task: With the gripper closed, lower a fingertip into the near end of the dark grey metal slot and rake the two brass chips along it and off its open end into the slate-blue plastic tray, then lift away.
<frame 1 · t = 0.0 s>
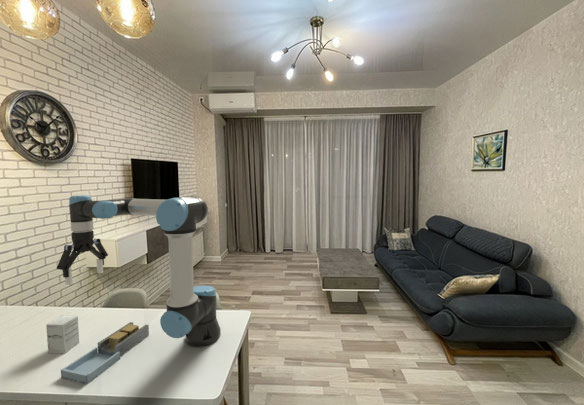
hand: (85, 278, 113), 28 cm above the table, fingers open, 13 cm apart
tray: (92, 367, 97), on the table
slot bed: (125, 344, 111), on the table
chip b: (118, 343, 108), point 2 cm above the table, touching slot bed
supplement box: (64, 348, 109), on the table
chip a: (130, 335, 114), point 2 cm above the table, touching slot bed
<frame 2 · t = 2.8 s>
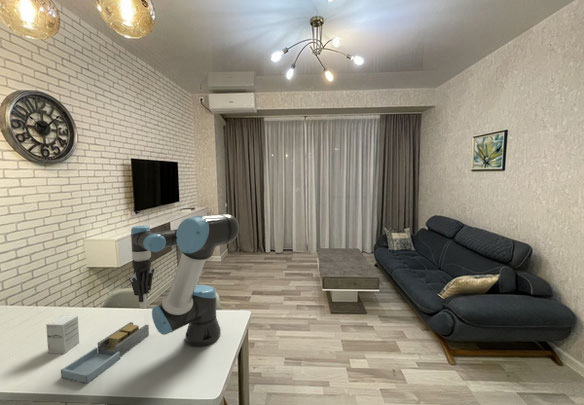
hand: (143, 307, 121), 11 cm above the table, fingers closed
nothing on the table moved.
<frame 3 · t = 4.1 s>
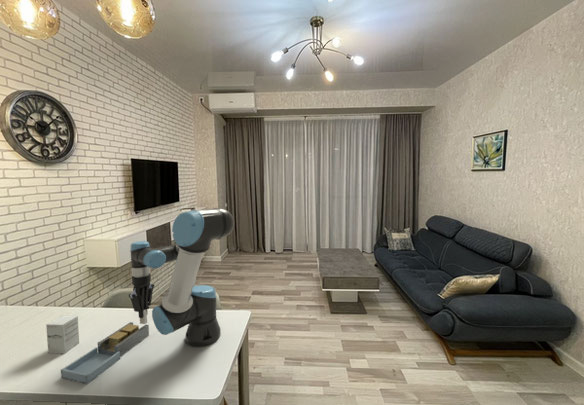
hand: (143, 322, 121), 4 cm above the table, fingers closed
nothing on the table moved.
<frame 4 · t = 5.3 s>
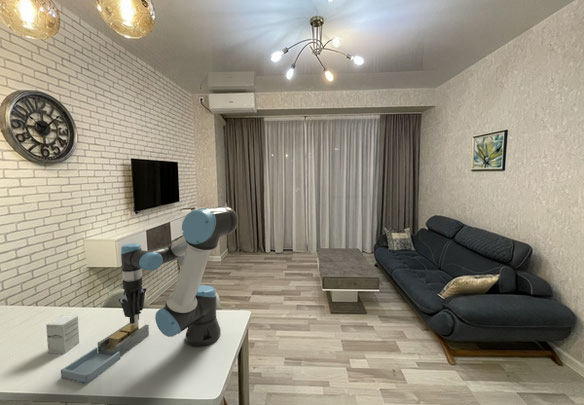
hand: (134, 328, 116), 4 cm above the table, fingers closed
chip a: (129, 335, 113), point 3 cm above the table, touching gripper, slot bed
everything else where it was.
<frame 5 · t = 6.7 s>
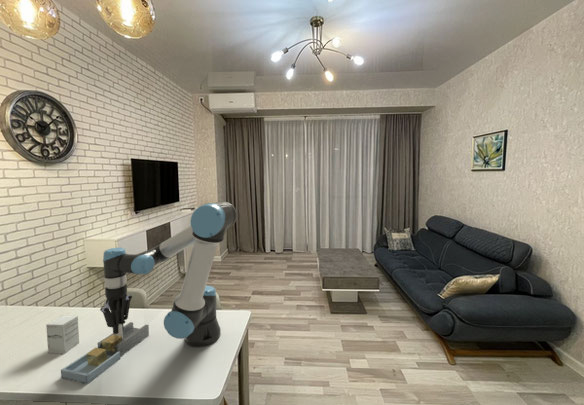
hand: (118, 339, 108), 4 cm above the table, fingers closed
chip b: (101, 353, 101), point 3 cm above the table, tilted 94°, touching tray
chip a: (112, 346, 106), point 3 cm above the table, touching gripper
everything else where it was.
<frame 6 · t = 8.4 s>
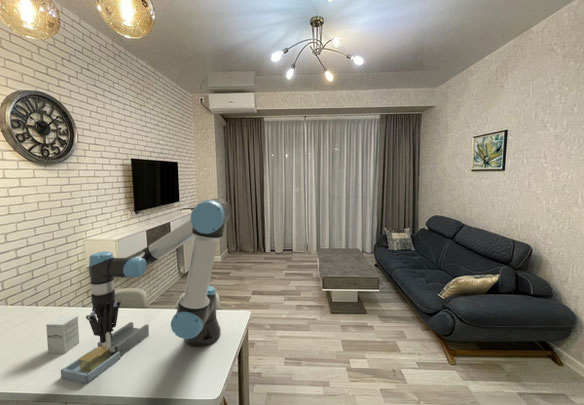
hand: (106, 348, 103), 4 cm above the table, fingers closed
chip b: (93, 358, 98), point 3 cm above the table, tilted 96°, touching chip a
chip a: (100, 359, 100), point 1 cm above the table, tilted 6°, touching chip b, gripper
everything else where it was.
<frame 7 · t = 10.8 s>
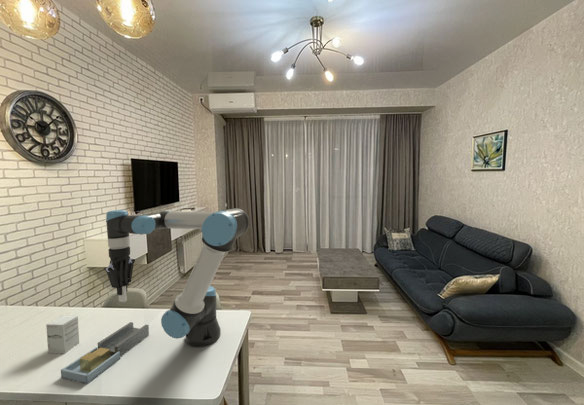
hand: (122, 301, 109), 20 cm above the table, fingers closed
chip b: (94, 359, 98), point 3 cm above the table, tilted 90°, touching tray
chip a: (100, 360, 100), point 1 cm above the table, touching tray
everything else where it was.
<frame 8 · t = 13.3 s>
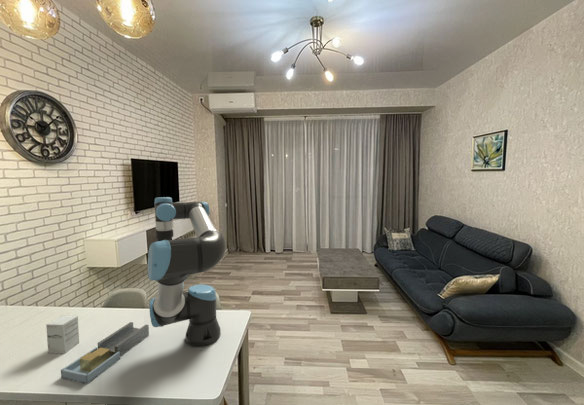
hand: (166, 277, 124), 24 cm above the table, fingers closed
nothing on the table moved.
at the end: chip a inside the target area on the tray (4.3 cm from its centre), point 0.6 cm above the tray's base; chip b inside the target area on the tray (2.1 cm from its centre), point 2.8 cm above the tray's base; chip a touching tray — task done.
